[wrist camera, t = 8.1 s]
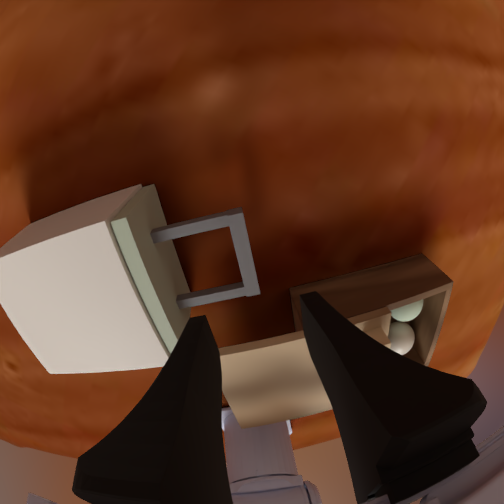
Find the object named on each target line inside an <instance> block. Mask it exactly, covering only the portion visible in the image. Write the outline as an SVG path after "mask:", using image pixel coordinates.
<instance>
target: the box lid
mask: <svg viewBox="0 0 504 504" xmlns="http://www.w3.org/2000/svg"><path fill="white" fill-rule="evenodd" d="M391 314H392V312H391V311H390V310H389V308H388V307H383V308H380V309H377V310H374V311H371V312H367V313H364V314H361V315H357V316H354V317H351V318H347V319H348V320H349V321H350V322H351V323H353V324H354V325H355V326H357V327H358V328H359V329H360V330H362V331H363V332H365V333H366V334H367V335H369V336H370V337H372V338H373V339H375V340H376V341H378V342H379V343H381V344H383V345H384V346H386V347H388V348H389V349H390V347H391V342H390V340H389V339H388V333H389V327H390V321H391ZM218 349H219V352H220V360H221V369H222V392H223V394H224V396H225V398H226V400H227V402H228V404H229V406H230V408H231V410H232V411H233V413H234V415H235V417H236V419H237V421H238V423H239V425H240V427H241V429H245V428H251V427H257V426H262V425H268V424H273V423H278V422H283V421H287V420H292V419H296V418H300V417H304V416H308V415H312V414H316V413H320V412H324V411H327V410H331V409H333V408H332V406H331V403H330V400H329V398H328V396H327V394H326V391H325V389H324V387H323V384H322V382H321V380H320V377H319V375H318V373H317V370H316V368H315V366H314V363H313V361H312V359H311V356H310V353H309V350H308V347H307V343H306V340H305V336H304V331H303V330H302V331H298V332H294V333H289V334H285V335H281V336H277V337H272V338H267V339H263V340H258V341H253V342H248V343H243V344H238V345H233V346H228V347H222V348H218Z"/></svg>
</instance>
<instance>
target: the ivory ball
mask: <svg viewBox="0 0 504 504" xmlns="http://www.w3.org/2000/svg"><path fill="white" fill-rule="evenodd" d="M388 339H389V340H390V342H391V347H390V349H391V350H393V351H395V352H397V353H399V354H400V355H404V354H406V353H407V352H408V351H409V350H410V349H411V348H412V346H413V344H414V340H415V334H414V331H413V329H412V327H411V326H410V325H408V324H407V323H405V322H394V323H392V324H390V327H389V333H388Z"/></svg>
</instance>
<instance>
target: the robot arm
mask: <svg viewBox="0 0 504 504" xmlns="http://www.w3.org/2000/svg"><path fill="white" fill-rule="evenodd" d="M299 296H300V304H301V313H302V322H303V331H304V336H305V340H306V343H307V347H308V350H309V353H310V356H311V359H312V361H313V363H314V366H315V368H316V370H317V373H318V375H319V377H320V380H321V382H322V384H323V387H324V389H325V391H326V394H327V396H328V398H329V400H330V403H331V406H332V408H333V411H334V414H335V418H336V421H337V425H338V428H339V431H340V435H341V438H342V442H343V446H344V450H345V453H346V457H347V461H348V465H349V469H350V473H351V478H352V482H353V487H354V491H355V496H356V501H357V504H410V503H412V502H414V501H416V500H418V499H420V498H422V497H423V498H422V499H421V501H420V504H504V426H503V427H502V428H500V429H499V430H498V431H497V432H495V433H494V434H493V435H491V436H490V437H489V438H487V439H486V440H485V441H483V442H482V443H480V444H479V445H477V446H476V447H475V445H474V443H473V441H472V440H471V439H472V438H473V437H474V433H473V431H472V429H471V428H470V427H471V426H472V425H473V424H474V422H475V421H476V420H477V419H478V417H479V416H480V415H481V414H482V412H483V411H484V409H485V407H486V404H487V401H486V399H485V398H484V396H483V395H482V393H481V391H480V390H479V388H478V387H477V386H476V384H475V383H474V382H473V381H472V379H467V378H464V377H460V376H456V375H452V374H448V373H445V372H441V371H439V370H436V369H433V368H430V367H427V366H425V365H422V364H420V363H418V362H416V361H413V360H411V359H409V358H407V357H405V356H402V355H400V354H399V353H397V352H395V351H393V350H391V349H389V348H388V347H386V346H384V345H383V344H381V343H379V342H378V341H376V340H375V339H373V338H372V337H370V336H369V335H367V334H366V333H365V332H363V331H362V330H360V329H359V328H358V327H357V326H355V325H354V324H353V323H351V322H350V321H349V320H348V319H347V318H345V317H344V316H343V315H342V314H340V313H339V312H338V311H337V310H336V309H335V308H334V307H333V306H331V305H330V304H329V303H328V302H327V301H326V300H325V299H324V298H323V297H322V296H321V295H320V294H319V293H318V292H316V291H313V292H309V293H305V294H301V295H299ZM222 429H223V430H224V434H225V449H226V460H225V453H224V445H223V437H222ZM290 434H292V429H291V424H290V420H287V421H283V422H278V423H273V424H268V425H262V426H257V427H251V428H245V429H241V427H240V425H239V423H238V421H237V419H236V417H235V415H234V413H233V411H232V410H231V408H230V407H227V408H222V369H221V360H220V352H219V349H218V347H217V344H216V342H215V339H214V337H213V334H212V331H211V329H210V326H209V324H208V321H207V318H206V316H205V315H203V316H198V317H192V318H189V320H188V321H187V323H186V325H185V327H184V329H183V331H182V333H181V335H180V337H179V339H178V341H177V343H176V345H175V347H174V349H173V351H172V352H171V354H170V356H169V358H168V360H167V362H166V363H165V365H164V367H163V368H162V370H161V371H160V373H159V375H158V376H157V378H156V379H155V381H154V382H153V384H152V385H151V387H150V388H149V390H148V391H147V392H146V394H145V395H144V396H143V398H142V399H141V400H140V401H139V403H138V404H137V405H136V406H135V407H134V408H133V410H132V411H131V412H130V413H129V414H128V415H127V416H126V417H125V419H124V420H123V421H122V422H121V423H120V424H119V425H118V426H117V427H116V428H115V429H114V430H112V431H111V432H110V433H109V434H108V435H107V436H106V437H105V438H103V439H102V440H101V441H100V442H99V443H97V444H96V445H95V446H93V447H92V448H91V449H89V450H88V451H87V452H85V453H84V454H83V455H81V456H80V457H78V461H77V466H76V471H75V476H74V482H73V487H72V491H73V492H74V494H75V495H76V496H78V497H79V498H81V499H83V500H85V501H87V502H89V503H91V504H322V501H321V498H320V495H319V492H318V490H317V487H316V486H315V485H314V484H312V483H311V482H310V481H303V479H302V475H298V472H297V468H296V463H295V459H294V454H293V449H292V445H291V440H290V436H289V435H290ZM226 463H227V467H226ZM27 504H57V503H55V502H53V501H50V500H48V499H45V498H43V497H40V496H37V495H35V494H32V493H29V494H28V499H27Z"/></svg>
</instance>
